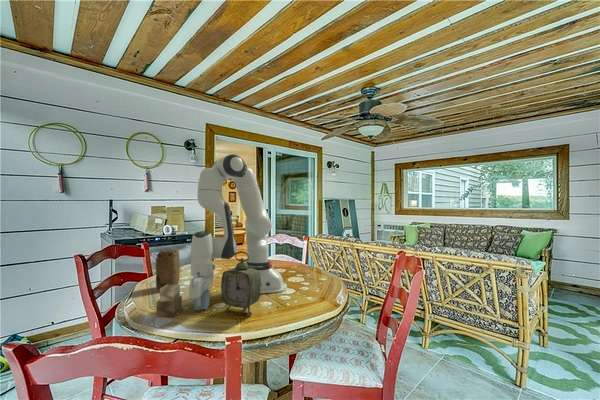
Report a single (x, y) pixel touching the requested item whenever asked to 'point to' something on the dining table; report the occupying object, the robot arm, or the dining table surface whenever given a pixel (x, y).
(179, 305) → the walnut base block
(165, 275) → the block
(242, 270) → the tabletop clock
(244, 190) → the robot arm
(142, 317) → the dining table surface
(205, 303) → the slate block
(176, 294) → the maple top block
